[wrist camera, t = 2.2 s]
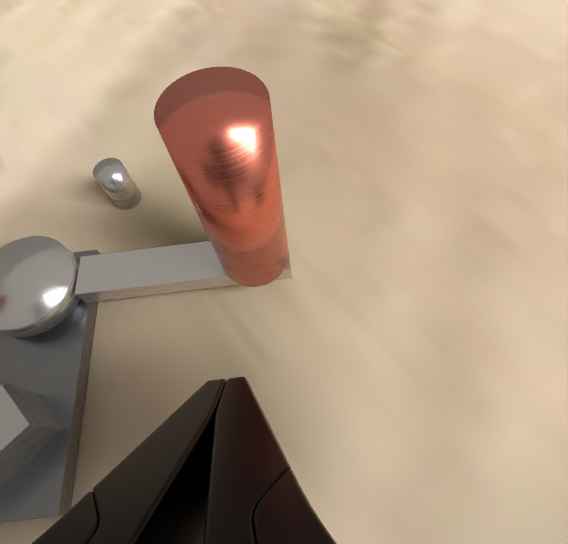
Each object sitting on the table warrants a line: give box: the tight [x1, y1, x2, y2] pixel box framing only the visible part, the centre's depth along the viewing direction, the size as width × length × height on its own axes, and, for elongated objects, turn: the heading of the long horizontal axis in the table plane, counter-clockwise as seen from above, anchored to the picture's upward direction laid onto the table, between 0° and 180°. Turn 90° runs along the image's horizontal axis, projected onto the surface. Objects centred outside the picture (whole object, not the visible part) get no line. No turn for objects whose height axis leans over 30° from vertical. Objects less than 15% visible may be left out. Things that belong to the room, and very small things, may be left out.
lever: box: [0, 67, 292, 337], centre depth 15 cm, size 19×5×9 cm, turn 96°
